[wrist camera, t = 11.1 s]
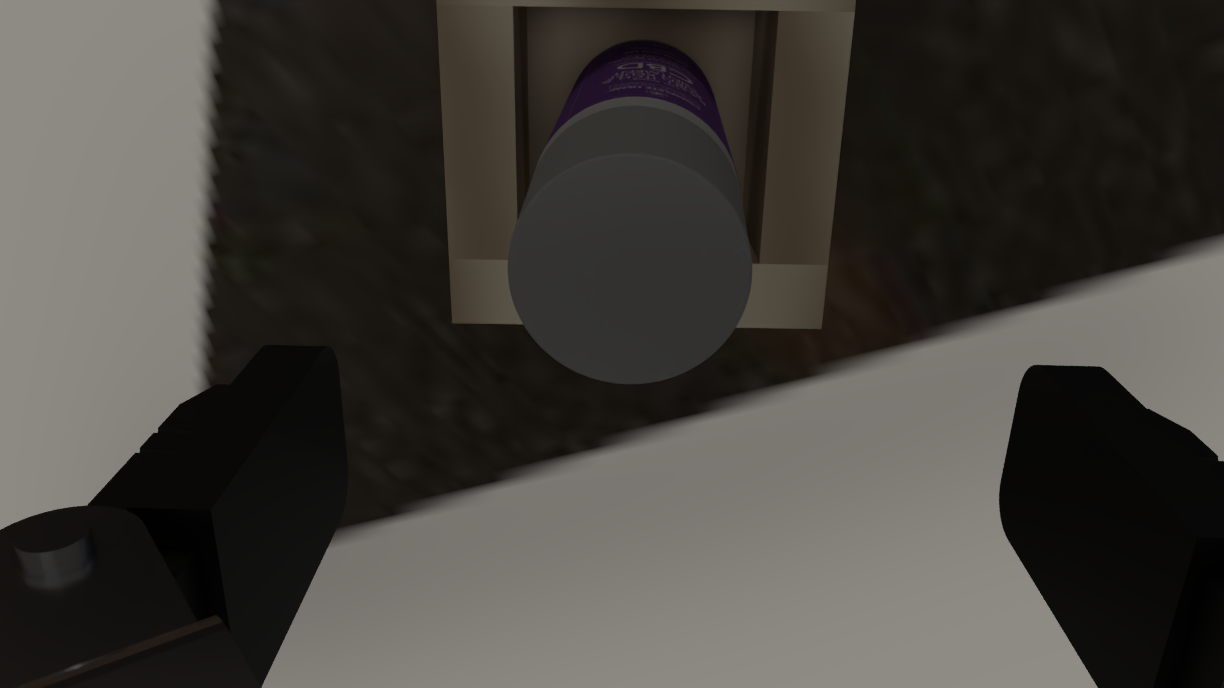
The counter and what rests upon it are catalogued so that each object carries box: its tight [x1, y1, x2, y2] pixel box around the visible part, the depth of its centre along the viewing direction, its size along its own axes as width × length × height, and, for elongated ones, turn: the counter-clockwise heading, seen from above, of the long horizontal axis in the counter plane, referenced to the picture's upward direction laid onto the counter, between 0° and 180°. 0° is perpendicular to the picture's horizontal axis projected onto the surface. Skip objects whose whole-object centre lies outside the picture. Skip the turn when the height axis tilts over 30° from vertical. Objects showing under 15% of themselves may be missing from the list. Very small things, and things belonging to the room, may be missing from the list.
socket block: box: [436, 0, 856, 329], centre depth 30 cm, size 11×11×5 cm
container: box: [508, 40, 752, 384], centre depth 25 cm, size 5×5×15 cm
